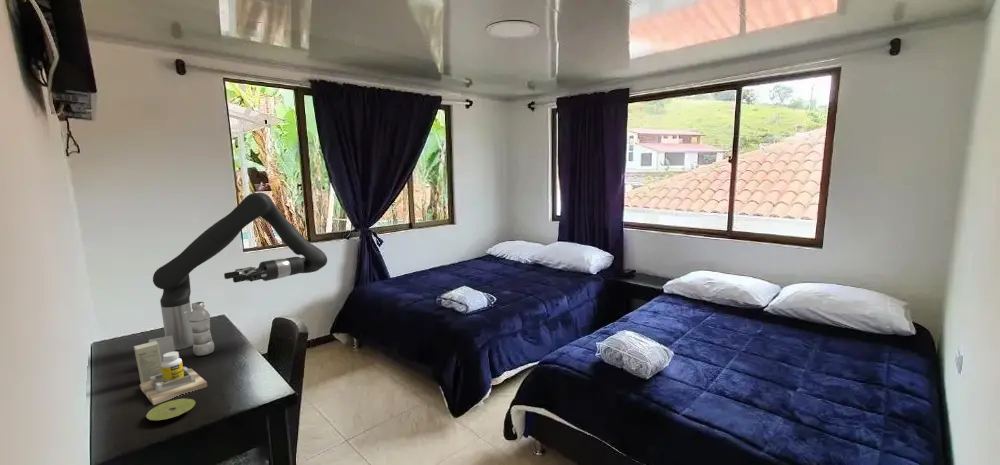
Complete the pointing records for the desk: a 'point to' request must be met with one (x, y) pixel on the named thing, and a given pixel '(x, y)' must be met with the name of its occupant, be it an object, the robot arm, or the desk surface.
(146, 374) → the skincare box
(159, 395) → the socket board
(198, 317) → the plastic bottle
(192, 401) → the green disc with hole
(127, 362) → the desk surface
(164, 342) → the tea bag
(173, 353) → the supplement bottle
